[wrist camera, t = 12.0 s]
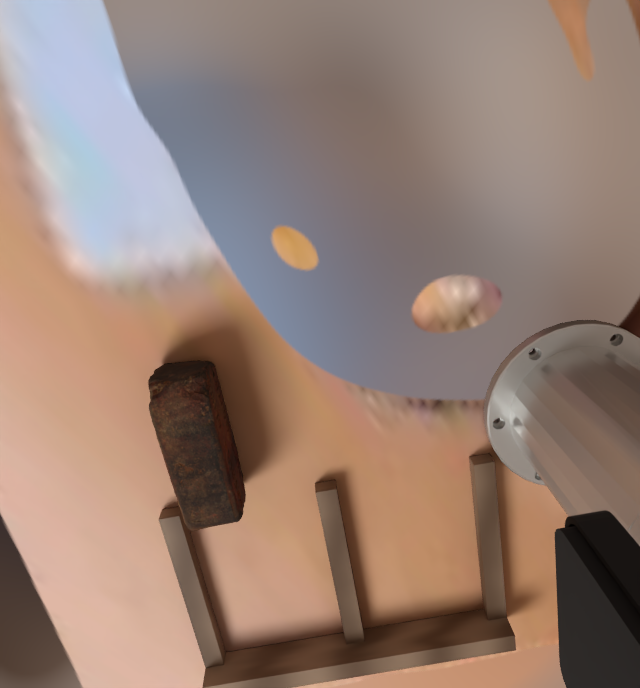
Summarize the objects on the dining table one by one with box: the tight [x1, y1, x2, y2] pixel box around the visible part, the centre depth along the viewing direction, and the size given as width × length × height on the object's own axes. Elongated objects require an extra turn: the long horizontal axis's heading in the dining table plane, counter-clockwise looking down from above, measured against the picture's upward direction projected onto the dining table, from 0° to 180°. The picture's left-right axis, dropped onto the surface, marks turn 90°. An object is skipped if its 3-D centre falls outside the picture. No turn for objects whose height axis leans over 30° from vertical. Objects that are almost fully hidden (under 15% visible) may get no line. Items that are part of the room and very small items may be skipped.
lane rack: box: [159, 453, 516, 688], centre depth 44 cm, size 24×16×3 cm, turn 100°
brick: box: [149, 361, 246, 531], centre depth 39 cm, size 11×4×5 cm, turn 11°
